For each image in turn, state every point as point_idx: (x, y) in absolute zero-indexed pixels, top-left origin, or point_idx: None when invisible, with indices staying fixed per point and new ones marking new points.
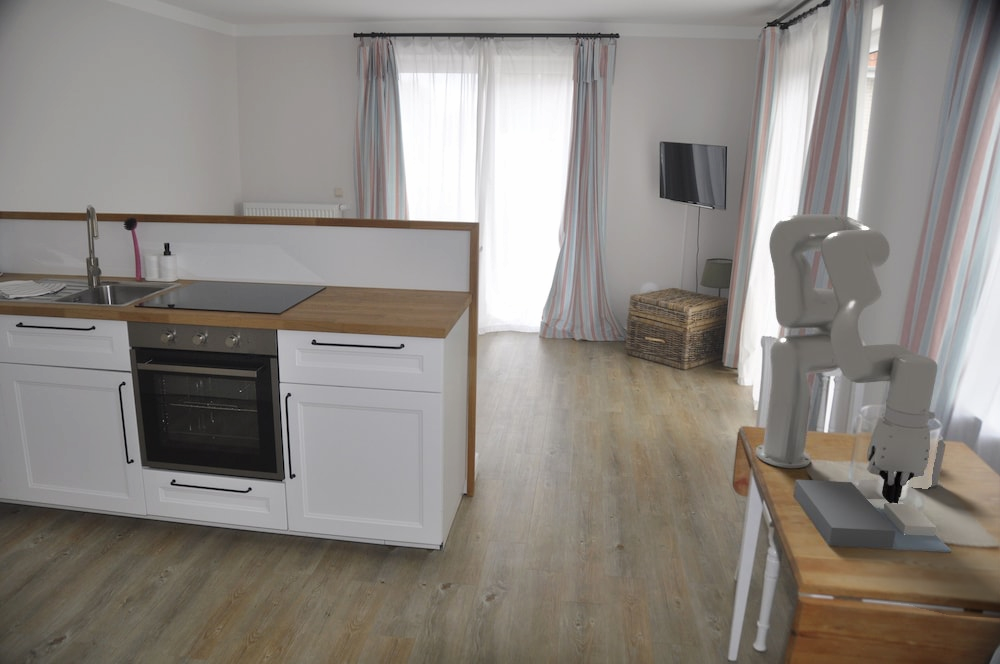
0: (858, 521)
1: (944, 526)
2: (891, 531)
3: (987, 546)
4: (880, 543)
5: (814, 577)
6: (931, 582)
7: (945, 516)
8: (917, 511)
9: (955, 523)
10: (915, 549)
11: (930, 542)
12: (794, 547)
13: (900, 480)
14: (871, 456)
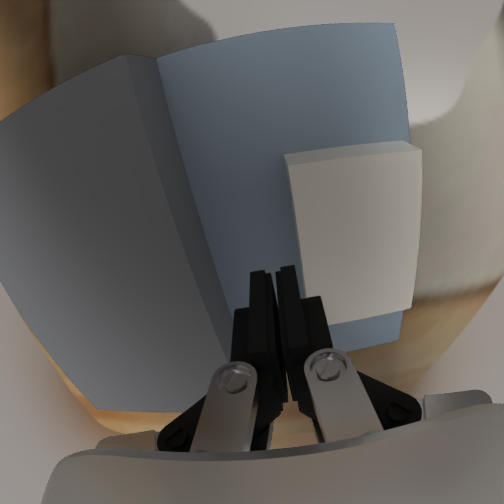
0: (148, 389)
1: (464, 202)
2: None
3: (494, 281)
4: None
5: (111, 426)
6: (291, 422)
7: (496, 132)
8: (408, 212)
9: (500, 175)
10: None
11: (366, 323)
12: (62, 376)
13: (314, 429)
14: (74, 482)
